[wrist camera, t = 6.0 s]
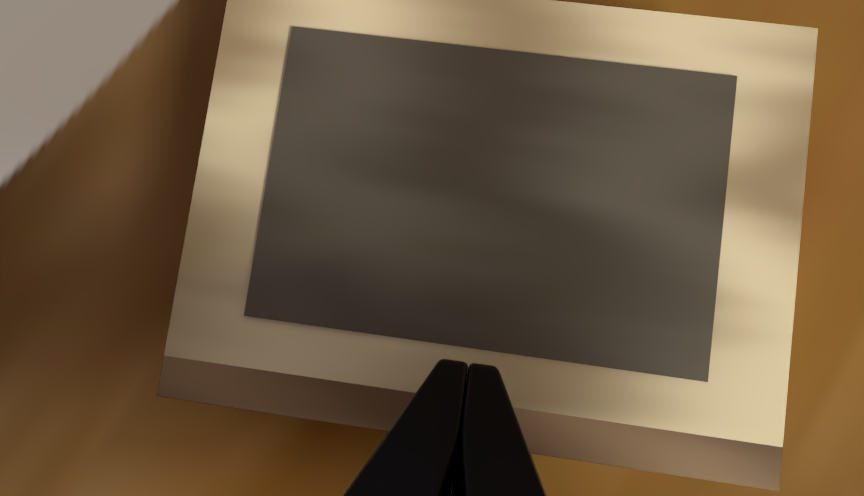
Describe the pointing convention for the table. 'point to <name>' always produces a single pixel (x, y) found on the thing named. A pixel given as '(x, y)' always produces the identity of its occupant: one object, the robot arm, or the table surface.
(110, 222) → the table surface
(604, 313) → the slab
